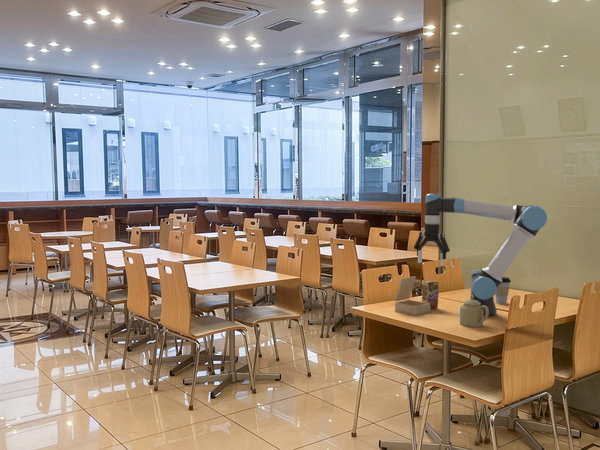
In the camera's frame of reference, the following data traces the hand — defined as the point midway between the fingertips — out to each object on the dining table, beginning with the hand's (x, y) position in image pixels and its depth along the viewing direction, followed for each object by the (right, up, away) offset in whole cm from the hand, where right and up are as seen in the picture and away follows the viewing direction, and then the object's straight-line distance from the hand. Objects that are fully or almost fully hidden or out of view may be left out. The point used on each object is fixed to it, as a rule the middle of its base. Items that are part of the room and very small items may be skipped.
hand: (430, 264), depth 297 cm
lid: (-11, -14, +11) cm, 21 cm away
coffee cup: (+50, -26, +37) cm, 67 cm away
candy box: (+3, -26, +17) cm, 31 cm away
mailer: (-8, -26, +8) cm, 28 cm away
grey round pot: (+17, -29, -20) cm, 39 cm away
